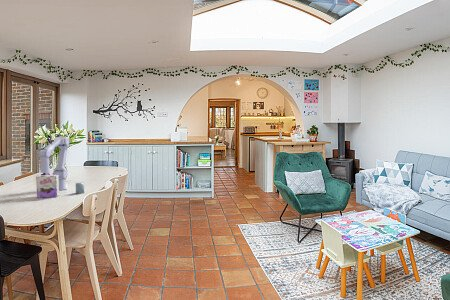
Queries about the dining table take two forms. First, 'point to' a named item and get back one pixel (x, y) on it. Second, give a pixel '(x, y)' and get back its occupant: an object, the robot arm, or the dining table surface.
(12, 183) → the dining table surface
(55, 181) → the candy box
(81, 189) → the rounded blue cylinder
